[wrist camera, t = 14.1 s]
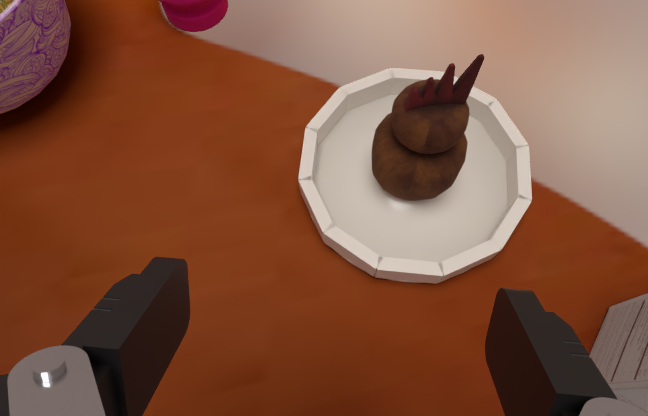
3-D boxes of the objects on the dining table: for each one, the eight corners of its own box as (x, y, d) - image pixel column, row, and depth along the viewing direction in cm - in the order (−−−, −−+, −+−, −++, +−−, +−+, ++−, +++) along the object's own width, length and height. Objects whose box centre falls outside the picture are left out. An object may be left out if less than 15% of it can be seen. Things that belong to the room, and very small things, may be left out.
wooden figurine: (453, 156, 41) (516, 29, 27) (444, 218, 39) (506, 115, 25) (375, 140, 41) (396, 9, 27) (361, 200, 39) (377, 91, 25)
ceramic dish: (290, 270, 38) (286, 260, 35) (316, 83, 44) (314, 62, 42) (521, 294, 37) (537, 285, 34) (512, 98, 43) (524, 77, 41)
